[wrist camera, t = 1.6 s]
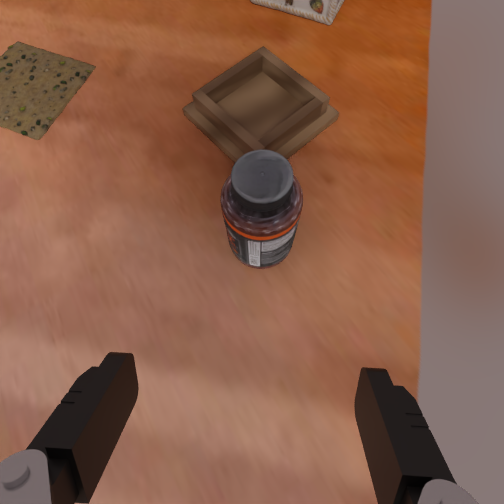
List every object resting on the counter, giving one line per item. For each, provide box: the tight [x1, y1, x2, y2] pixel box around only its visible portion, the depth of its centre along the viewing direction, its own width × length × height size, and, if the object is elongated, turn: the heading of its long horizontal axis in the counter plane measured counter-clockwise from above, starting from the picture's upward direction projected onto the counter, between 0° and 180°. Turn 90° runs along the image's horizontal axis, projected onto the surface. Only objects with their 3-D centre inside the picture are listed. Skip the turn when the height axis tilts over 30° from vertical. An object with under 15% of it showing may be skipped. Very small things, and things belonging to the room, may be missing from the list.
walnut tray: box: [183, 47, 339, 163], centre depth 35 cm, size 12×12×3 cm
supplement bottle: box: [221, 149, 303, 269], centre depth 26 cm, size 6×6×11 cm
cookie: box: [0, 42, 96, 140], centre depth 39 cm, size 12×12×1 cm
